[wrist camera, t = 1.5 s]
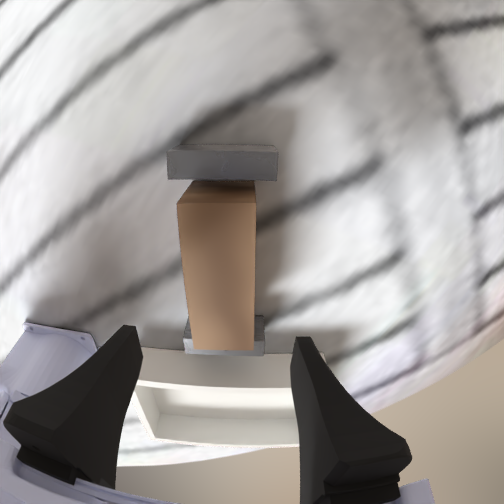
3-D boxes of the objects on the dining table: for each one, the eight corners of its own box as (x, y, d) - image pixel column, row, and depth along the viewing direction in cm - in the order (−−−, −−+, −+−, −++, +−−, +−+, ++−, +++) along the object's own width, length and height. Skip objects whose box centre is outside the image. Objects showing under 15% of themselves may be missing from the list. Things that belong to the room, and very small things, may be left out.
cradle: (190, 328, 25) (185, 353, 22) (178, 144, 18) (166, 151, 15) (262, 330, 25) (263, 356, 22) (273, 145, 18) (278, 152, 15)
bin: (155, 412, 31) (149, 439, 27) (133, 346, 26) (121, 377, 22) (304, 417, 31) (308, 445, 28) (323, 352, 26) (331, 385, 23)
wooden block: (202, 305, 24) (193, 349, 19) (193, 180, 19) (176, 203, 15) (252, 306, 24) (253, 350, 19) (254, 180, 19) (256, 202, 15)
